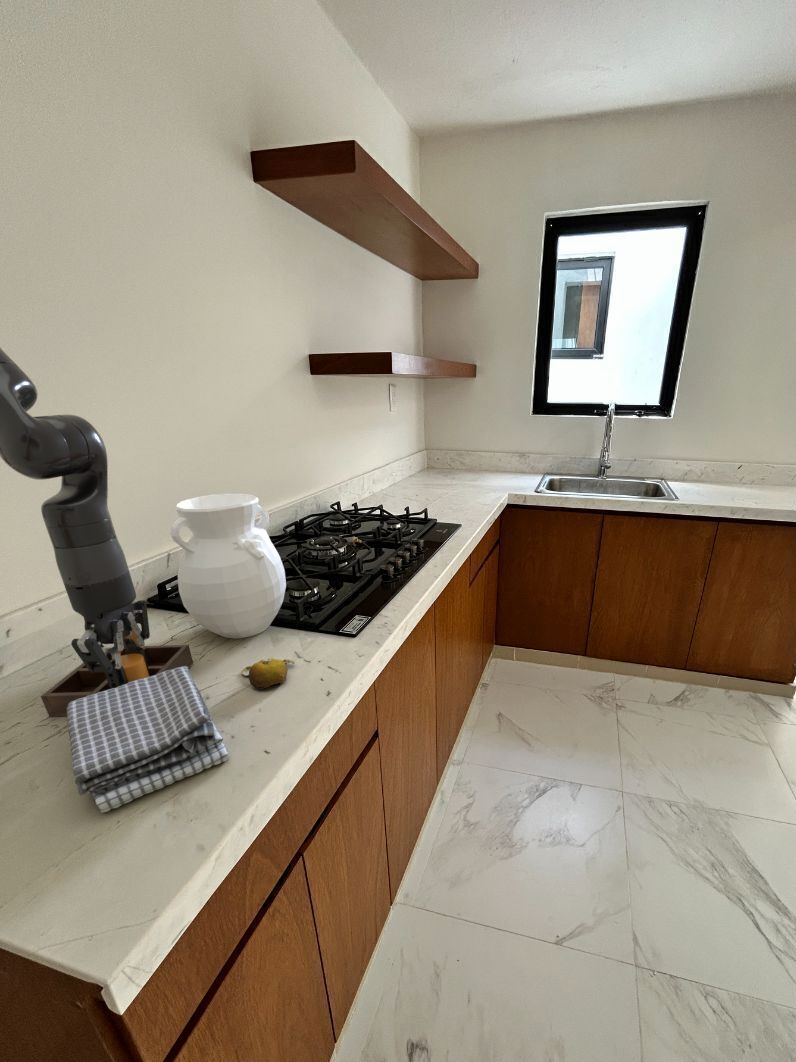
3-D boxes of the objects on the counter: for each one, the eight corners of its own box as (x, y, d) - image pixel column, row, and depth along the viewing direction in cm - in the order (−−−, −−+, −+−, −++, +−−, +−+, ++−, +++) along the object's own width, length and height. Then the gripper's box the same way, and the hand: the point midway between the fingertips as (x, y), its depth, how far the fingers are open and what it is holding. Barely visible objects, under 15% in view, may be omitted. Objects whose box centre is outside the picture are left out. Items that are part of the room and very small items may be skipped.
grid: (49, 717, 72) (40, 696, 71) (109, 665, 85) (102, 646, 84) (149, 714, 72) (142, 693, 71) (193, 662, 85) (188, 644, 84)
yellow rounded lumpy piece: (293, 660, 85) (289, 641, 84) (298, 685, 78) (295, 665, 77) (241, 670, 83) (237, 651, 81) (242, 697, 76) (237, 676, 74)
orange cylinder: (108, 693, 72) (99, 669, 71) (126, 676, 77) (118, 653, 75) (139, 692, 73) (132, 668, 71) (156, 675, 77) (149, 652, 75)
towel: (198, 698, 76) (186, 653, 72) (232, 764, 62) (219, 713, 59) (78, 739, 67) (58, 690, 64) (87, 826, 54) (63, 770, 51)
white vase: (265, 600, 110) (244, 486, 100) (310, 625, 98) (291, 498, 88) (176, 629, 98) (141, 502, 88) (215, 661, 86) (180, 519, 76)
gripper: (100, 556, 74) (132, 656, 81) (28, 594, 61) (73, 709, 68) (151, 555, 74) (179, 655, 81) (90, 592, 61) (129, 708, 68)
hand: (130, 679), depth 74 cm, fingers closed on orange cylinder, 4 cm apart
